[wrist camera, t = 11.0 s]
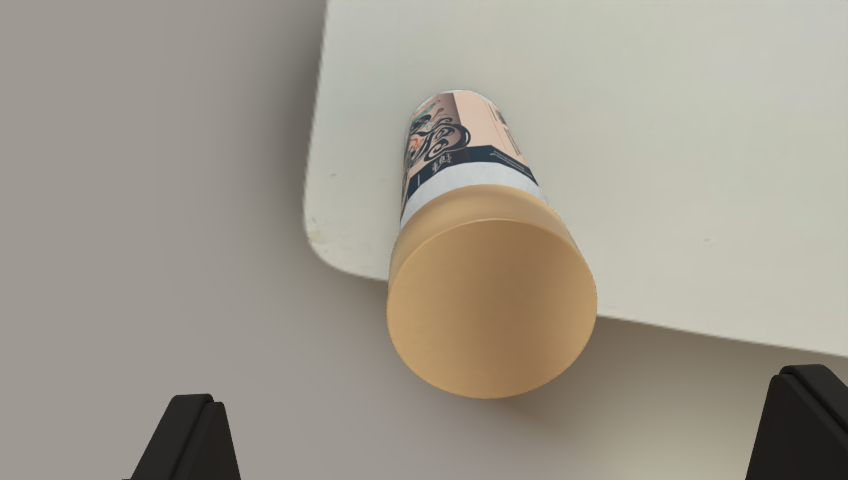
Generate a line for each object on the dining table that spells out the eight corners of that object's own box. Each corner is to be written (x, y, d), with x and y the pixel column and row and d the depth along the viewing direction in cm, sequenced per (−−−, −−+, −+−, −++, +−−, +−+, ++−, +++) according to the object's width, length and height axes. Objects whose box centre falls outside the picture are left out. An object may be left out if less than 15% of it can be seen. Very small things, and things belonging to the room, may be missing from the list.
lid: (394, 351, 20) (392, 403, 17) (383, 186, 17) (378, 222, 15) (569, 344, 19) (589, 396, 17) (581, 179, 17) (606, 214, 15)
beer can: (417, 76, 28) (418, 156, 17) (519, 100, 28) (584, 192, 17) (395, 175, 30) (383, 304, 19) (491, 196, 30) (533, 333, 19)
